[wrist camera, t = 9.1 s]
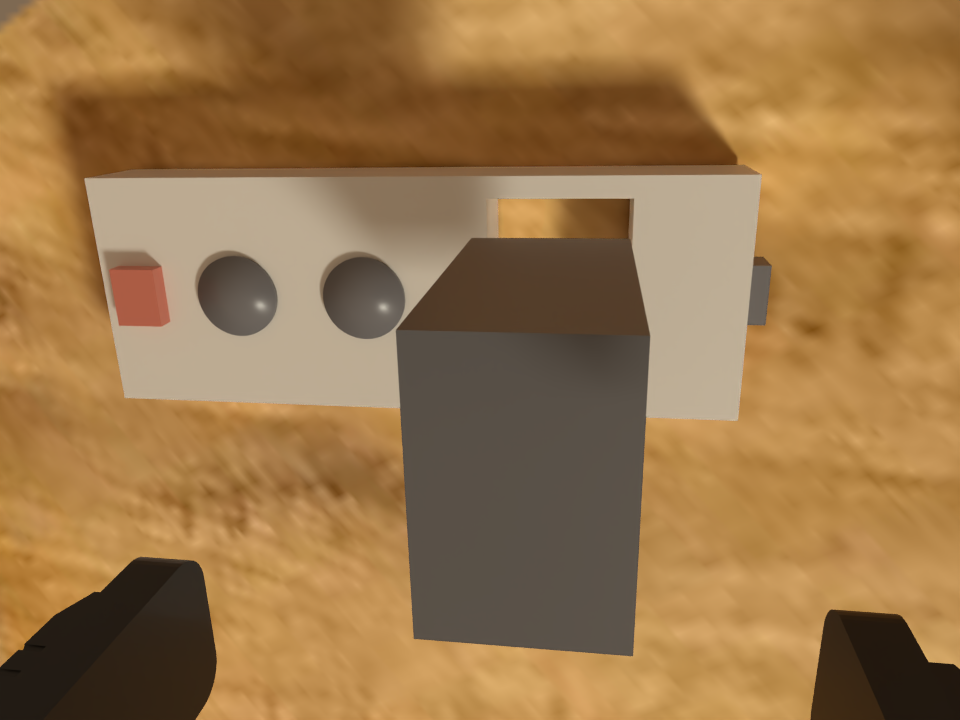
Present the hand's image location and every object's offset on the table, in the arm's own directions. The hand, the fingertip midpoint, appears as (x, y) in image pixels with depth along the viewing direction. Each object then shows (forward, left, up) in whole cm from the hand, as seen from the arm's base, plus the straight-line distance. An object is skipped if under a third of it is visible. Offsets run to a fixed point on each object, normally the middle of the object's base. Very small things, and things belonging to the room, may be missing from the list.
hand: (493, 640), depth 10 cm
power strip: (+5, 0, -20) cm, 20 cm away
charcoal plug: (0, 0, -11) cm, 11 cm away
